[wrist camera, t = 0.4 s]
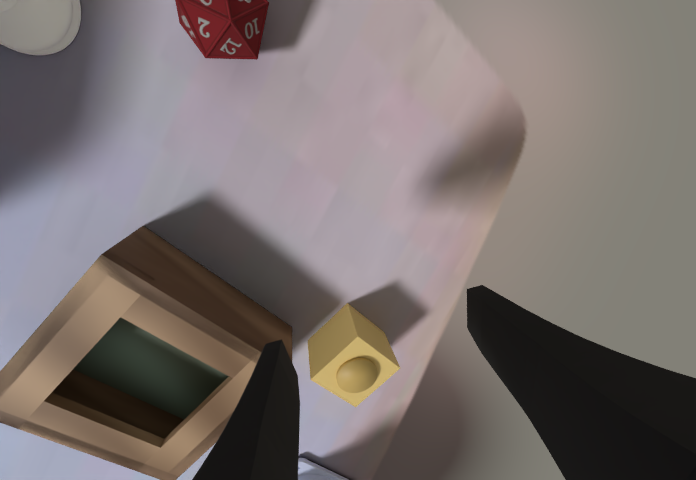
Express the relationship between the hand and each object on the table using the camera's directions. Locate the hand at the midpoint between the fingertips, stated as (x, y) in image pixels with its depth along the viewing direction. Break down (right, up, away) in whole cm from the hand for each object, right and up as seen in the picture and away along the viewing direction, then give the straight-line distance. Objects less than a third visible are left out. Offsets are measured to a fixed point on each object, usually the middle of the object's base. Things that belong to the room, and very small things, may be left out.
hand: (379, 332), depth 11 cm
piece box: (-14, -4, +10) cm, 17 cm away
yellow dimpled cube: (-1, -4, +13) cm, 13 cm away
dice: (-7, +15, +4) cm, 17 cm away
